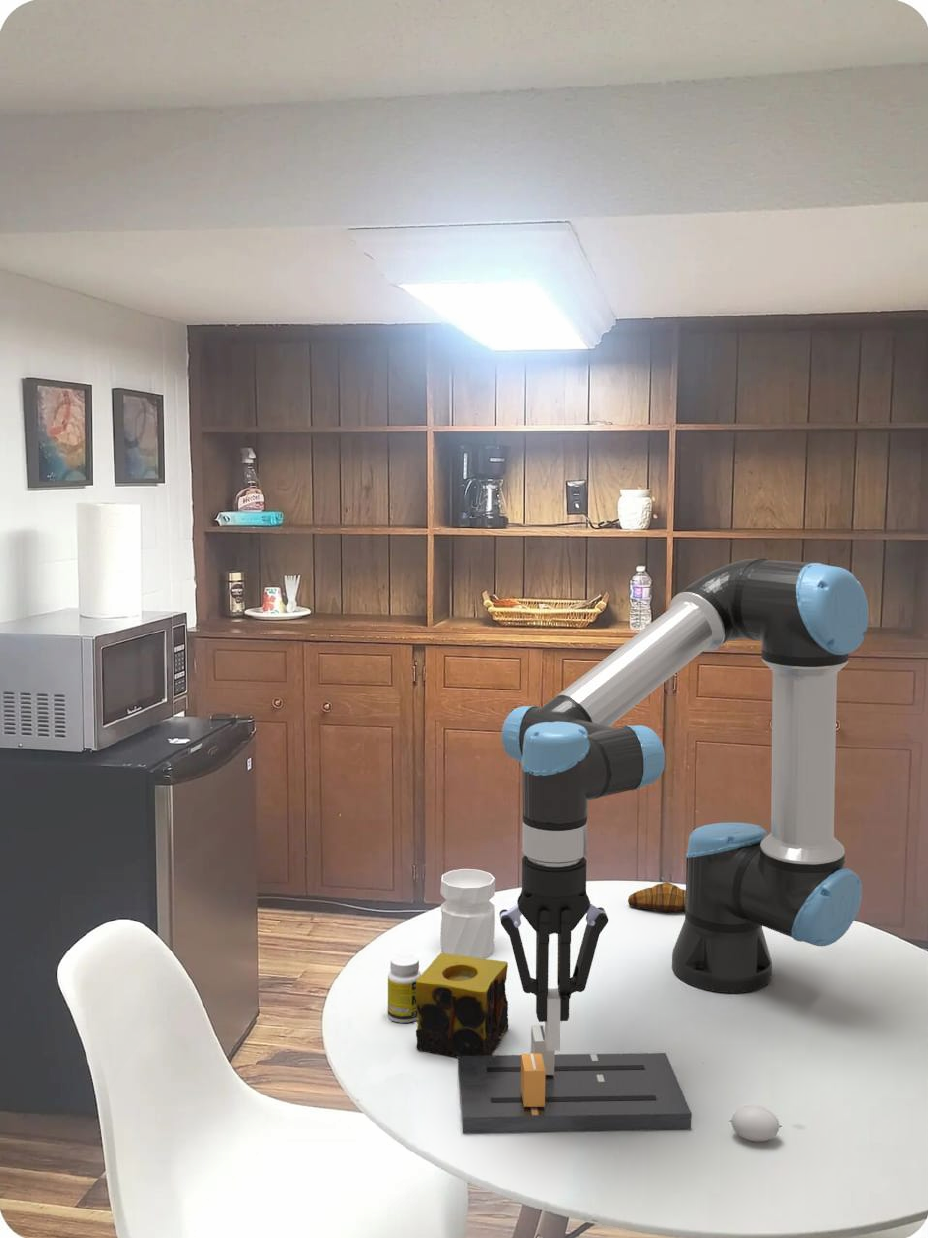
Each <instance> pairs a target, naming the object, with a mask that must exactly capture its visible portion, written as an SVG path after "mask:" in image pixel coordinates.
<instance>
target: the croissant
mask: <svg viewBox="0 0 928 1238" xmlns="http://www.w3.org/2000/svg"><path fill="white" fill-rule="evenodd" d="M627 903H628V906H631V907H633V908H637V909H643V910H647V911H648V910H649V911H658V912H664V913H665V912H666V913H675V912H677V913H678V912H680V913H682V912H684V913H685V908H686V907H685V904H686V889H682V888H680V887H678V886H677V885H675V884H673V883H670V882H667V881H666V882H661V883H658V884H655V885H654V886H651V887H646V888H644V889H640V890H638V891H636V892H635V891H634V892H633V893H632V894H630V895H629V896H628V900H627Z"/></svg>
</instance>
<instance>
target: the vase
mask: <svg viewBox="0 0 928 1238" xmlns="http://www.w3.org/2000/svg"><path fill="white" fill-rule="evenodd" d="M495 892H496V878H495V877H494V876H493V874H491V873H490V872H488V871H484V870H481V869H473V868H472V869H471V868H461V869H453V870H450V871H447V872H445V873H443V874H441V882H440V893H439V894H440V895H441V896H442V897H443V898H444V899H445V901H444V902H443V903H442V904H440V912H441V921H440V947H441V951H442V952H441V953H446V954H454V955H461V956H468V957H475V958H482V959H488V957H490V956H492V955H493V953H494V950H495V925H496V923H495V922H496V919H495V918H496V916H495V915H496V914H495V912H496V911H495V904H494V903H492V902H491V901H490V900H491V899H492V898H494V897H495Z"/></svg>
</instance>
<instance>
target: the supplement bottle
mask: <svg viewBox="0 0 928 1238" xmlns="http://www.w3.org/2000/svg"><path fill="white" fill-rule="evenodd" d="M419 962H420V961H419V957H418V956H416V955H414V954H410V953H401V954H395V955H393V956H392V957H391V958H390V970H389V972H388V974H387V1017H388V1018H389V1019H390V1020H391V1021H392V1022H396V1023H403V1024H406V1023H412V1022H416V1021H417V1020H418V1019H417V1012H418V1010H417V1005H416V980H417V979H418V978H419V977H420V976H421V975H422V973H421V971H420V969H419V968H420V963H419Z"/></svg>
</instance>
